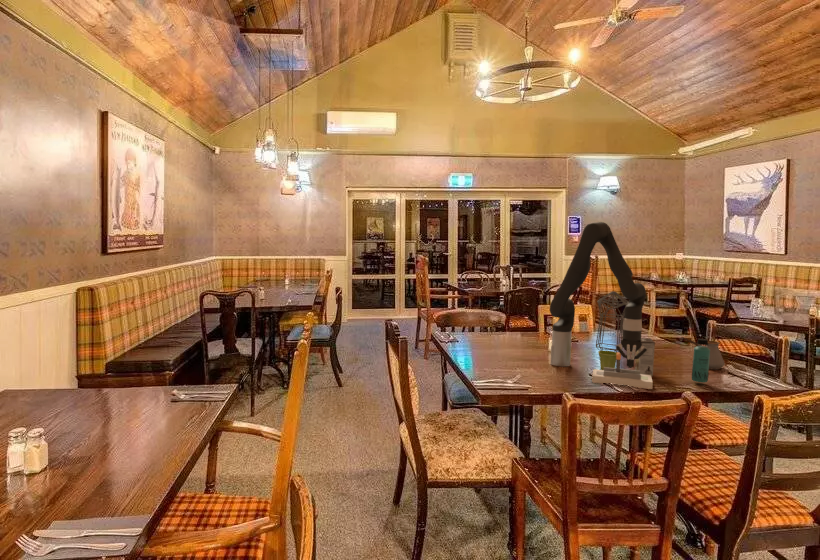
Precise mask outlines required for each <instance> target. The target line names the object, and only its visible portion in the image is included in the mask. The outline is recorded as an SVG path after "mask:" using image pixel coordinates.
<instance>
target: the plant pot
mask: <svg viewBox="0 0 820 560" xmlns="http://www.w3.org/2000/svg"><path fill="white" fill-rule="evenodd" d="M617 352H618V351H617ZM617 352H616V351H614V350H603V351H600V350H598V352H597V353H598V356H599V365H600V370H604V367H608V368H616V360H617V359H616V355H617Z"/></svg>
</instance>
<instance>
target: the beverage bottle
mask: <svg viewBox="0 0 820 560" xmlns="http://www.w3.org/2000/svg"><path fill="white" fill-rule="evenodd" d="M696 341H697V342H696V343H697V344H700V345H702V346H698V345H695V346H694V348H693V358H692V368H691V380H692V381H693V382H698V383H708V381H709V371H710V369H709V357H710V349H709V348H708V347H706V345H708V341H709V340H708V339H705V338H698V339H697V340H696ZM704 346H705V347H704Z"/></svg>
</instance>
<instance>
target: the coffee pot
mask: <svg viewBox="0 0 820 560" xmlns="http://www.w3.org/2000/svg"><path fill="white" fill-rule="evenodd" d="M679 340H680V342H682V341H683V340H684V341H686V342H688V343H690V344H693V345H695V346H704V347H708V348H709V349H710V357H709V370H720V369H721V368H723V367H724V366H725V365H726V363H725V361H724V358H723V356H722V354H721V350H720V348H719V345H721V342H719V341H714V340H708V345H701V344H697V342H695V341H693V340H691V339H688V338H687V337H683V336H681V337H680V338H679Z"/></svg>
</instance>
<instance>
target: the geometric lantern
mask: <svg viewBox="0 0 820 560" xmlns="http://www.w3.org/2000/svg"><path fill="white" fill-rule="evenodd" d="M609 296H610V297H609ZM608 297H609V299H606V298H608ZM618 299H619V300H618ZM596 302H597V304H598V305H597V306H598V309H599V322H598V329H597V335H596V342H595V348H596V349H597V350H598V351H613V352H619V351H618V350H617V348H616V345H619V344H621V341H622V335H623V321H624V310H625V308H624V309H623V312H621V311H620V310H619V308H620V307H623V306H626V305H628V303H629V300H628V299H627V298H624V296H621V295H620V293H618V292H617V291H610V292H608V293H607V294H606V295H603V296H601V297H600V298H598V300H597V301H596ZM606 304H607V305H606ZM602 305H603V306H604V307H606V309H605V311H603V308H602ZM616 309H617V310H618V312H619V314H618V313H617V311H616ZM609 310H613V311H614V312H615V313H614V314H613V313H608V312H609ZM601 312H602V313H601ZM621 313H622V314H621ZM608 315H610V316H611V318H612V319H613V318H615V319H617V335H616V337H617V338H616V344H614V343H613V344H610V343H605V342H604V335H605V334H604V333H605V326H606V319H607V318H610V316H608ZM603 319H604V322H603ZM603 342H604V343H603ZM603 345H605V346H615V348H611V347H610V348H609V347H603ZM622 349H624V348H623V346H622ZM619 353H620V352H619Z"/></svg>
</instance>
